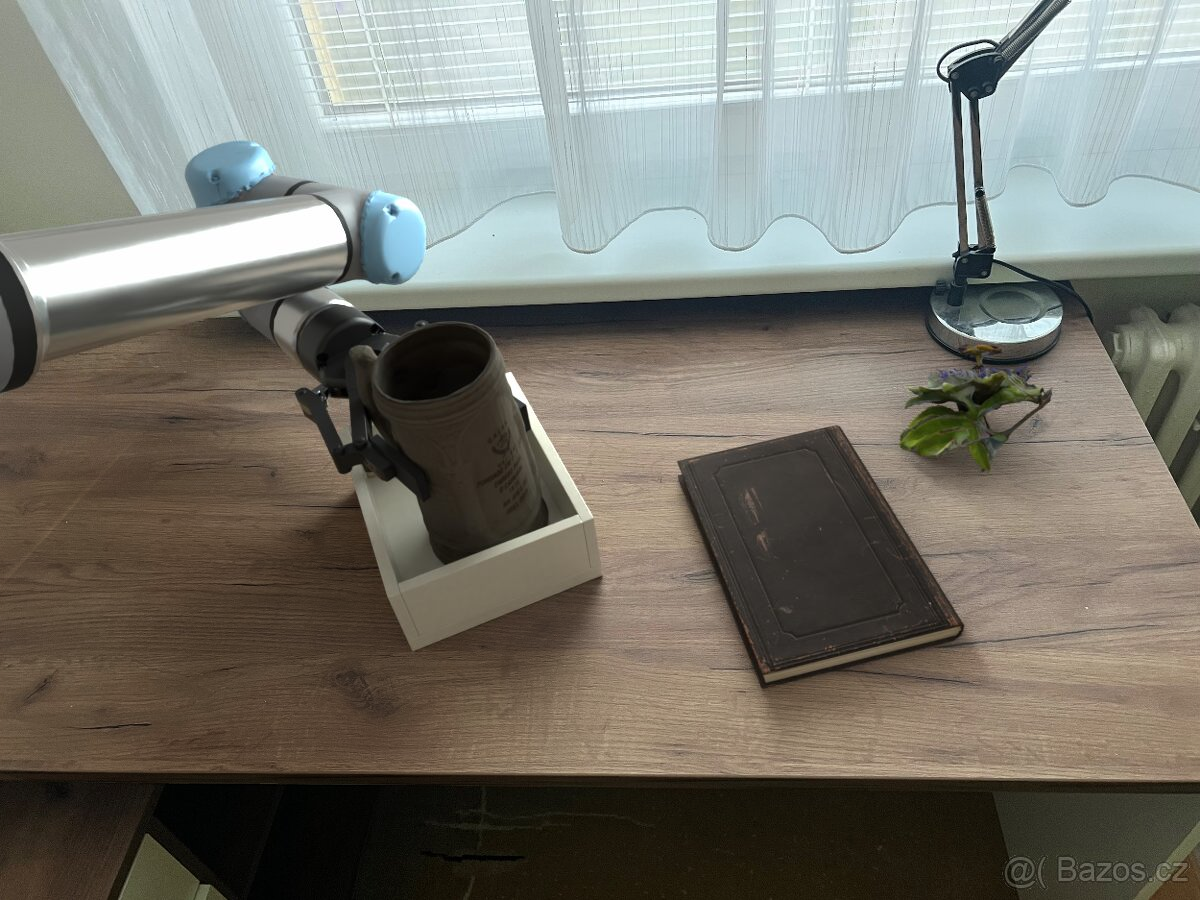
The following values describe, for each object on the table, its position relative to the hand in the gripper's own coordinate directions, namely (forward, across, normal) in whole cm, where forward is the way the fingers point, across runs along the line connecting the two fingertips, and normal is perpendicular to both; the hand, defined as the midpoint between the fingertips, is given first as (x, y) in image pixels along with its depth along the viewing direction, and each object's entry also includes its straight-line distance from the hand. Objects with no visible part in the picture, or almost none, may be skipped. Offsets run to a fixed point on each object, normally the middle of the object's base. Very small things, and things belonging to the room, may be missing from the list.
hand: (476, 452), depth 69 cm
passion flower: (+22, -38, -13) cm, 46 cm away
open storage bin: (-4, 0, -13) cm, 13 cm away
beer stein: (-4, +1, -11) cm, 12 cm away
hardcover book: (+19, -18, -13) cm, 29 cm away
